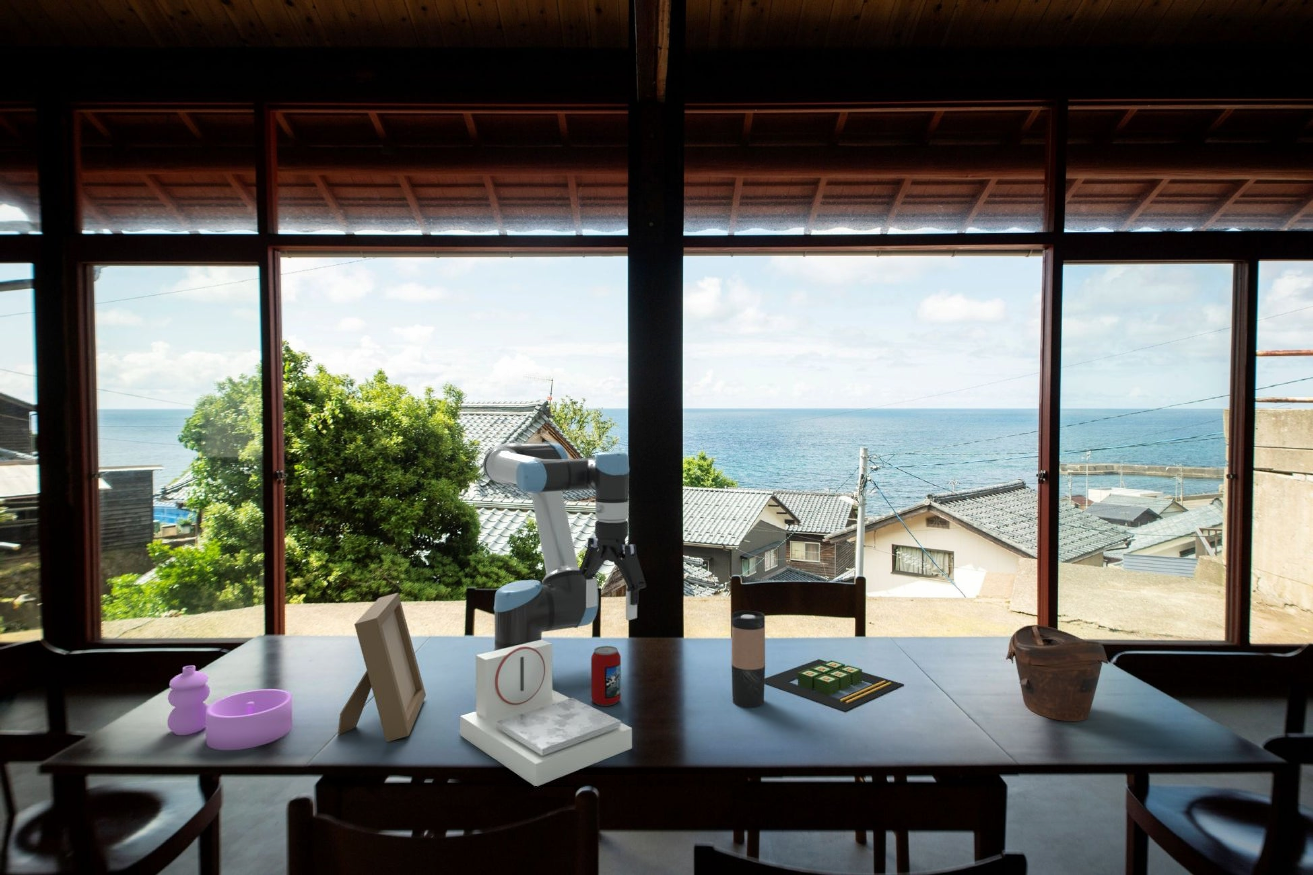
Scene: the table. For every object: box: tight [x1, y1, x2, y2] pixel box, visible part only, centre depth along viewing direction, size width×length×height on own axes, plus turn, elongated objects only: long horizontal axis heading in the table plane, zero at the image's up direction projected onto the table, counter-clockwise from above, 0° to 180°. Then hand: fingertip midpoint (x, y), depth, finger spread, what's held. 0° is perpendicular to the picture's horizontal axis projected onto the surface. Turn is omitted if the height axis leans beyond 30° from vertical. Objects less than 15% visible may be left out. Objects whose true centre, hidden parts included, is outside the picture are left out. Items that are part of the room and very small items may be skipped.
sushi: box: [765, 658, 905, 713], centre depth 173 cm, size 25×25×4 cm
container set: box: [167, 665, 293, 751], centre depth 145 cm, size 25×15×13 cm, turn 83°
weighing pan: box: [496, 697, 622, 756], centre depth 137 cm, size 16×18×1 cm
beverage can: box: [590, 645, 622, 707], centre depth 161 cm, size 7×7×12 cm
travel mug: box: [731, 610, 766, 709], centre depth 161 cm, size 8×8×20 cm
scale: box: [459, 639, 633, 787], centre depth 141 cm, size 28×22×17 cm
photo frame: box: [337, 592, 427, 743], centre depth 151 cm, size 15×22×25 cm
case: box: [1005, 624, 1109, 722], centre depth 157 cm, size 18×20×18 cm
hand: (610, 612), depth 161 cm, fingers open, 13 cm apart
